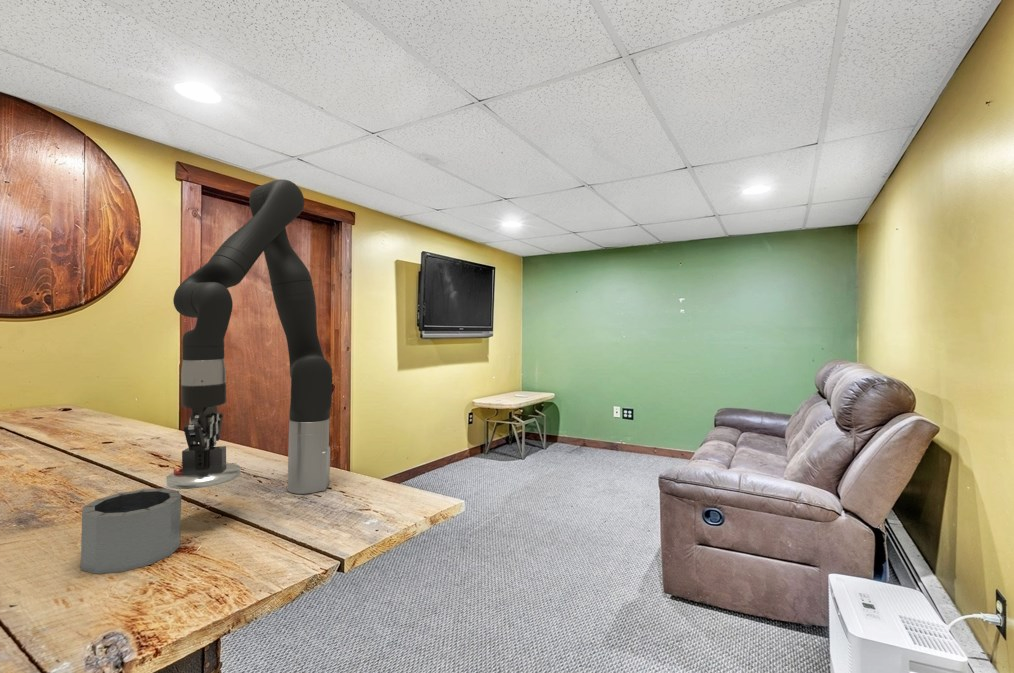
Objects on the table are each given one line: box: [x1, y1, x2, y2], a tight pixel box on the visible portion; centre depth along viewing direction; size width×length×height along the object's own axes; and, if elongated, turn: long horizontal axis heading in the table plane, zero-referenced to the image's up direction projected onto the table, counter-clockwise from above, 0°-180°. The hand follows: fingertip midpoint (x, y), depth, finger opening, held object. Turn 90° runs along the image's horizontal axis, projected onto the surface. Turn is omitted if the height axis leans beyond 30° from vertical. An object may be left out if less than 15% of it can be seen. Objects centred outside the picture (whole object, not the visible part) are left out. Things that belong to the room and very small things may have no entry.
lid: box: [166, 445, 241, 490], centre depth 92 cm, size 12×12×6 cm
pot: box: [80, 487, 182, 575], centre depth 79 cm, size 13×13×9 cm
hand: (205, 466), depth 92 cm, fingers closed on lid, 2 cm apart
